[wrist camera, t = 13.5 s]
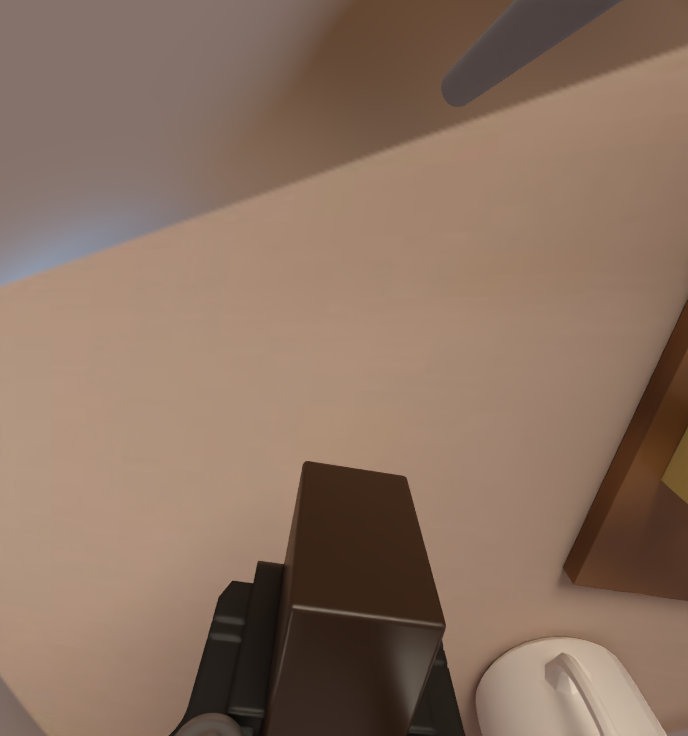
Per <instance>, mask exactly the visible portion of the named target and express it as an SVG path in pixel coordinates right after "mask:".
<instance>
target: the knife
mask: <svg viewBox="0 0 688 736" xmlns="http://www.w3.org/2000/svg"><path fill="white" fill-rule="evenodd" d="M445 629H446V624H445V620H444V616H443V612H442V608H441V605H440V601H439V597H438V594H437V590H436V586H435V582H434V579H433V575H432V571H431V567H430V564H429V560H428V556H427V552H426V549H425V545H424V541H423V537H422V534H421V530H420V526H419V522H418V519H417V515H416V511H415V508H414V504H413V500H412V496H411V493H410V489H409V485H408V481H407V478H406V477H405V476H401V475H394V474H388V473H381V472H375V471H368V470H362V469H355V468H349V467H343V466H336V465H330V464H323V463H317V462H310V461H305V462H304V464H303V467H302V472H301V477H300V483H299V488H298V493H297V499H296V504H295V509H294V515H293V520H292V525H291V530H290V536H289V541H288V546H287V552H286V557H285V562H284V572H283V580H282V587H281V595H280V603H279V610H278V618H277V626H276V633H275V641H274V649H273V656H272V664H271V672H270V680H269V687H268V695H267V703H266V710H265V717H264V722H263V727H262V732H261V736H407V735H408V732H409V729H410V726H411V724H412V721H413V718H414V715H415V713H416V710H417V707H418V704H419V701H420V699H421V696H422V693H423V690H424V688H425V685H426V682H427V679H428V676H429V674H430V671H431V668H432V665H433V663H434V660H435V657H436V654H437V652H438V649H439V646H440V643H441V640H442V638H443V635H444V632H445Z"/></svg>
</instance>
